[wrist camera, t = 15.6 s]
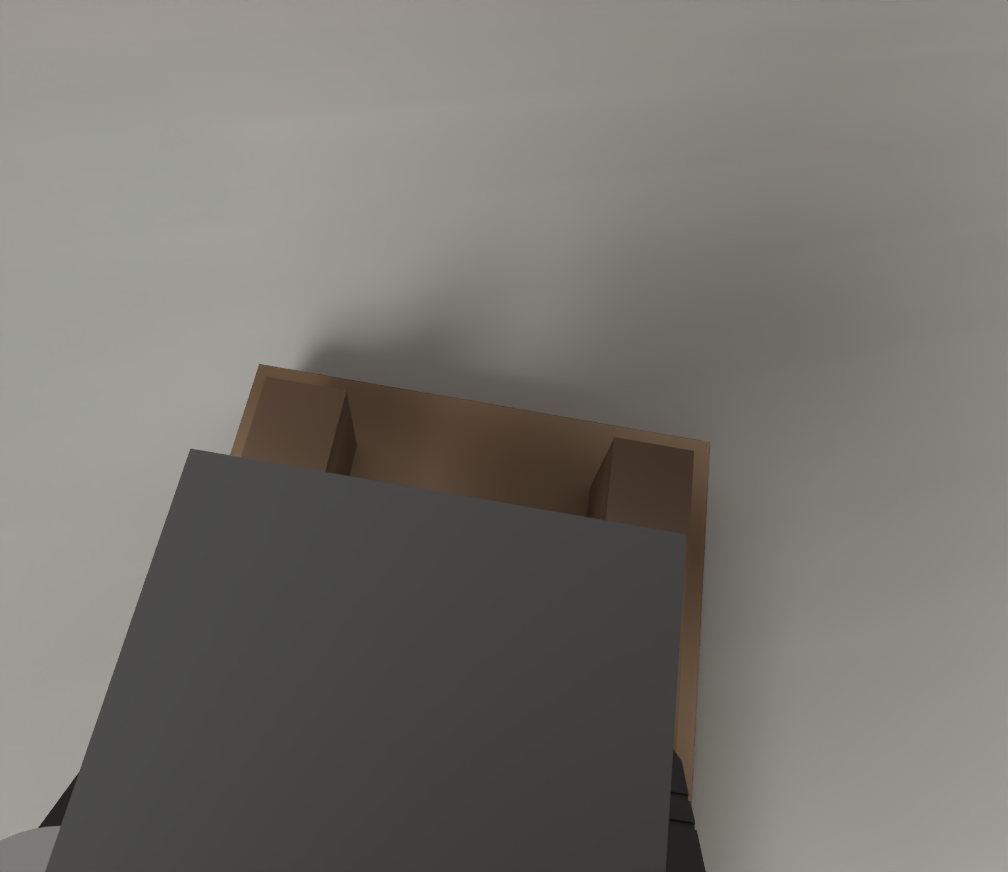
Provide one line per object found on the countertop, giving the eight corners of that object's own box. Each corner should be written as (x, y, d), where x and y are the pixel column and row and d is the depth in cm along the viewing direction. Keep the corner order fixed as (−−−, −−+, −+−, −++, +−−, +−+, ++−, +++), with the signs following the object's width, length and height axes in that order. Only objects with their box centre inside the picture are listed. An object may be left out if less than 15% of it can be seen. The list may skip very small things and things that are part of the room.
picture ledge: (613, 1570, 13) (702, 1928, 9) (-47, 1466, 13) (-277, 1779, 8) (685, 476, 20) (749, 389, 16) (274, 405, 20) (235, 299, 16)
